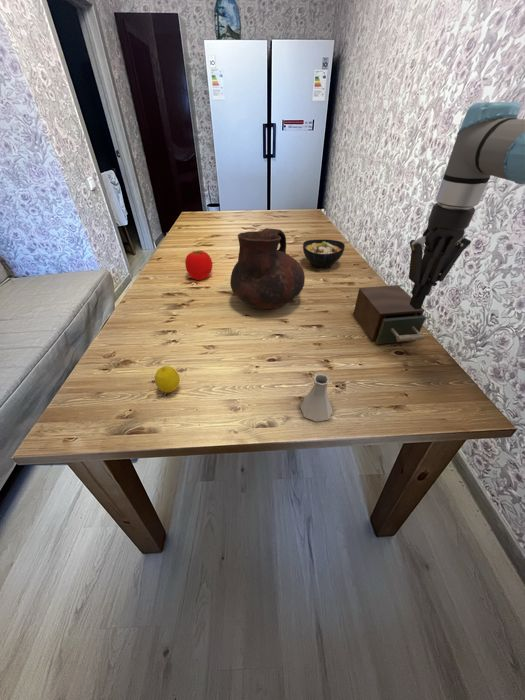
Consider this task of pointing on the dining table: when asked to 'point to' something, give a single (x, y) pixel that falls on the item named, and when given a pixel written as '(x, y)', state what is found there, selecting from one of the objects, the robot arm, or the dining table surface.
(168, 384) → the fruit
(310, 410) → the flask
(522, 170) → the robot arm
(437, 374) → the dining table surface
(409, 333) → the drawer
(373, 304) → the cabinet
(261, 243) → the jug
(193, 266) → the tomato
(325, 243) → the bowl
